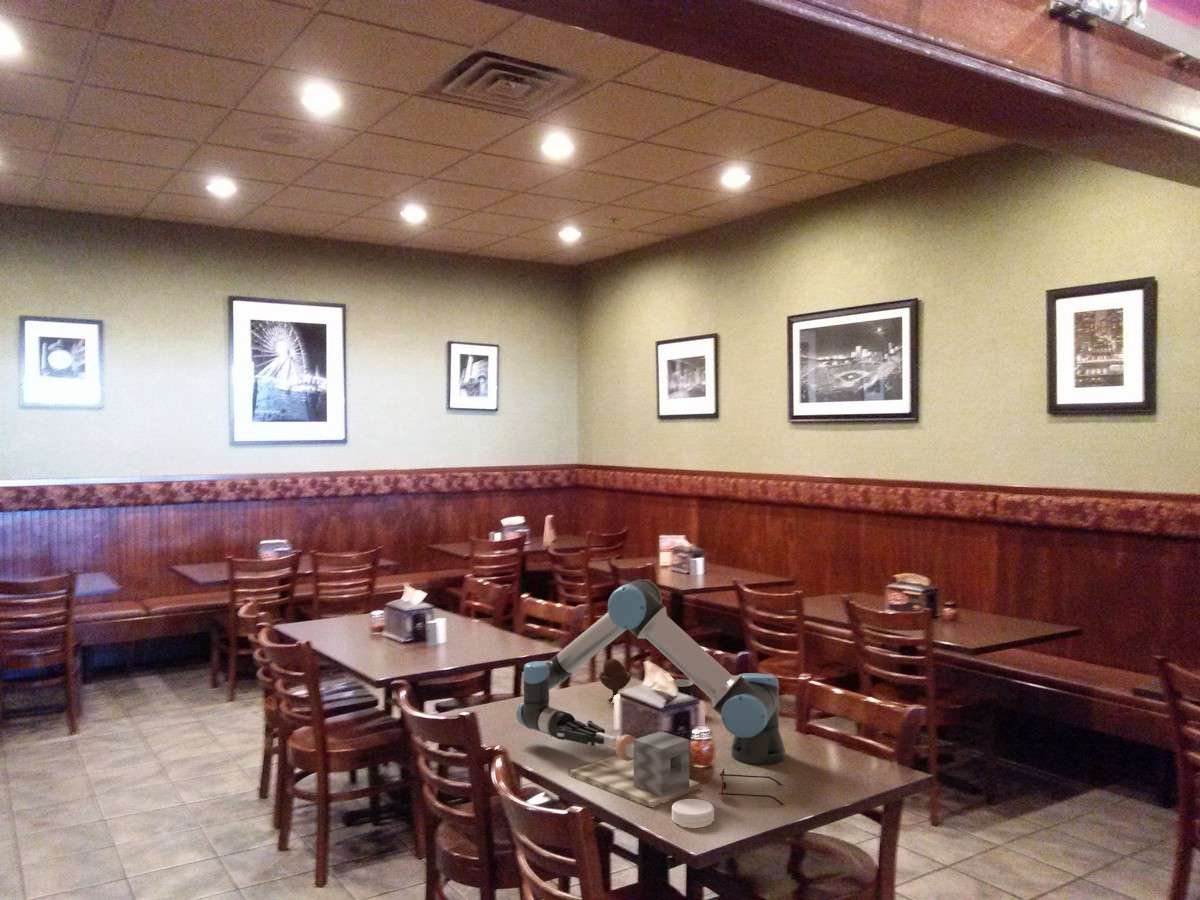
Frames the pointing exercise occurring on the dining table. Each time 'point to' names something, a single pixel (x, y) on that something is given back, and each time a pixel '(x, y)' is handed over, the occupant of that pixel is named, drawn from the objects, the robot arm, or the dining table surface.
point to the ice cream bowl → (614, 676)
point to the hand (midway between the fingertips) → (614, 743)
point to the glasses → (744, 794)
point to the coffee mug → (685, 686)
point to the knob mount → (645, 770)
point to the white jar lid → (692, 812)
